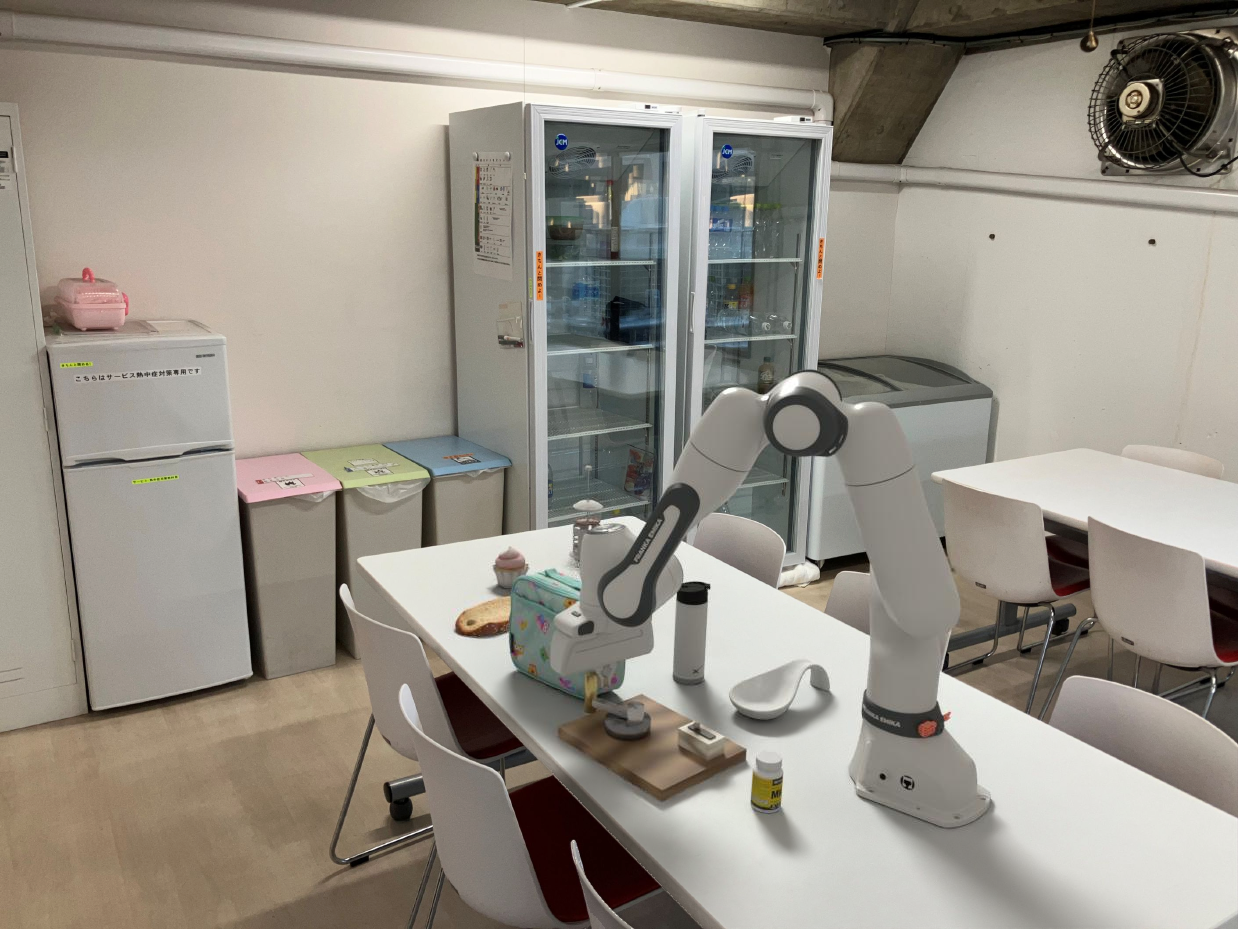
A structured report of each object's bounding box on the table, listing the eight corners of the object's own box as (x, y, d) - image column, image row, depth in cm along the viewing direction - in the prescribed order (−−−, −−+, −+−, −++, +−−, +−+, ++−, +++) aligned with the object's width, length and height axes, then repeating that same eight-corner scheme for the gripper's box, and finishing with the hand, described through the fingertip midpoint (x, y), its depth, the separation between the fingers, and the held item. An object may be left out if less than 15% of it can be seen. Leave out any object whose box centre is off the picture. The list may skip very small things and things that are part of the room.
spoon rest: (762, 735, 176) (765, 698, 175) (715, 710, 185) (717, 675, 183) (843, 697, 192) (846, 663, 190) (796, 676, 200) (798, 643, 198)
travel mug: (703, 686, 194) (708, 590, 189) (670, 683, 195) (674, 587, 190) (707, 673, 200) (712, 579, 195) (675, 669, 201) (679, 576, 196)
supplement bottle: (773, 817, 151) (777, 768, 149) (745, 807, 154) (748, 758, 152) (785, 803, 155) (789, 754, 153) (758, 793, 157) (761, 745, 156)
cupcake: (509, 575, 253) (509, 538, 250) (536, 583, 247) (537, 545, 245) (483, 585, 245) (483, 546, 243) (511, 594, 240) (512, 554, 238)
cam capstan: (659, 726, 173) (660, 684, 171) (634, 745, 167) (635, 702, 165) (598, 705, 180) (599, 665, 178) (571, 722, 174) (572, 680, 172)
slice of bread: (525, 603, 235) (525, 588, 234) (539, 633, 218) (539, 617, 217) (449, 609, 230) (448, 594, 229) (457, 640, 213) (457, 623, 212)
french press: (565, 558, 267) (566, 468, 261) (574, 545, 278) (575, 459, 272) (601, 561, 265) (603, 471, 259) (608, 548, 276) (611, 461, 271)
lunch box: (498, 666, 200) (498, 566, 195) (536, 652, 208) (537, 555, 203) (592, 711, 183) (595, 603, 178) (630, 694, 190) (633, 589, 185)
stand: (745, 759, 167) (748, 724, 166) (661, 801, 154) (663, 764, 153) (641, 703, 186) (642, 671, 185) (558, 737, 173) (558, 703, 172)
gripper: (641, 596, 182) (639, 666, 185) (545, 619, 171) (545, 692, 174) (662, 607, 177) (660, 678, 180) (564, 631, 166) (564, 706, 169)
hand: (603, 685), depth 177 cm, fingers closed
